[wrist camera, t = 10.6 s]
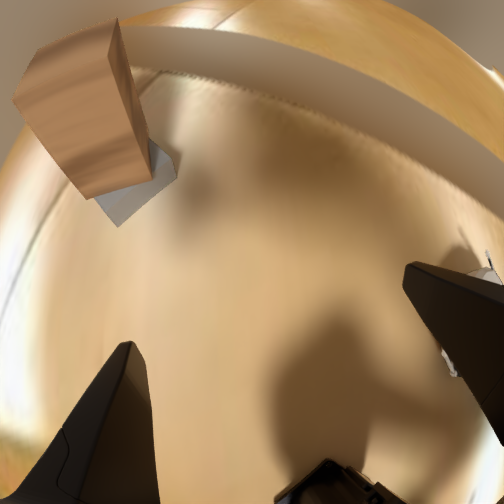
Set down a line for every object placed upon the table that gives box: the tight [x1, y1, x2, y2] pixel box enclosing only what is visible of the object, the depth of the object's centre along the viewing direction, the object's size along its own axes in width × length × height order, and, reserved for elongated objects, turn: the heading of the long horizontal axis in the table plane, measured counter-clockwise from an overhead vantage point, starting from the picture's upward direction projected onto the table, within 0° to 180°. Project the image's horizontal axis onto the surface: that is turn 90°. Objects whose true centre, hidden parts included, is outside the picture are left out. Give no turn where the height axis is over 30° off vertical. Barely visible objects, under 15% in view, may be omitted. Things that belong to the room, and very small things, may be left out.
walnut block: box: [11, 17, 153, 200], centre depth 16 cm, size 6×6×12 cm
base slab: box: [94, 138, 177, 227], centre depth 23 cm, size 7×7×3 cm
